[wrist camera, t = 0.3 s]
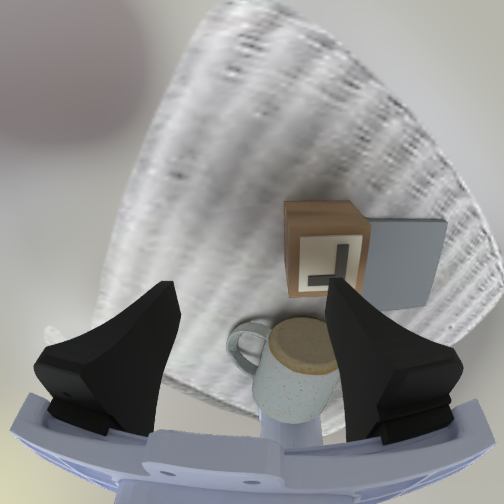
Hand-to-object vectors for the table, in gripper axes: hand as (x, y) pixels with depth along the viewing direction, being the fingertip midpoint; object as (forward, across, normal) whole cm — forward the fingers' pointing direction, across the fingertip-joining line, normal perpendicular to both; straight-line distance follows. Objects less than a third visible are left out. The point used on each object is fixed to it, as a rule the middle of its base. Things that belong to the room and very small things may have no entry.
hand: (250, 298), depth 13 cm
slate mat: (+10, -12, +4) cm, 16 cm away
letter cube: (+10, -5, +1) cm, 11 cm away
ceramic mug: (+10, -2, +13) cm, 16 cm away
